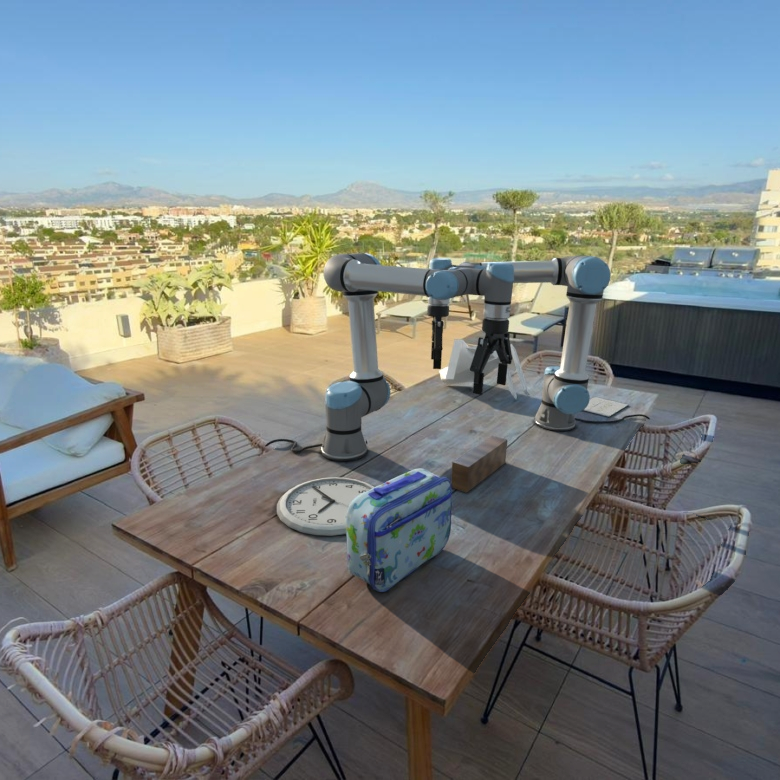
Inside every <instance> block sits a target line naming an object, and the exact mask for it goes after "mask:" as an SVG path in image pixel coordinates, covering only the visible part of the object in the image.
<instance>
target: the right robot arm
mask: <svg viewBox="0 0 780 780" xmlns="http://www.w3.org/2000/svg"><path fill="white" fill-rule="evenodd" d="M489 263H509V264H512V265H513V266H514V282H513V284H537V283H538V284H540V283H541V284H542V283H544V284H546V283H547V284H548V283H549V284H551V285H552V286H564V287H567V288H566V294H565V297H566V298H567V299H568V300H569V306H568V313H567V319H566V325H565V327H566V328H565V332H564V333H565V334H564V338H563V344H562V345H563V346H562V352H561V359H560V366H547V367H545V369H544V373H543V381H542V382H543V384H542V394H541V402H540V405H539V407H538V410H537V411H536V413H535V417H534V424H535V425H536V426H537V427H539V428H542V429H544V430H549V431H556V432H567V431H572V430H574V429H575V428H576V421H577V422H582V423H588V424H589V423H590V424H614V423H620V422H622V421H624V420H625V419H627V418H635V417H643V418H645V419H647V420H651V418H650V417H649V416H648V415H646V414H642V413H638V414H627V415H624V416H622V418H619V419H614V420H586V419H581V418H577V417H576V416H575V415H576V414H579V413H581V412H583V411H584V409H585V408H586V407H587V405H588V404H589V400H590V399H591V397H590V392H589V390H588V387H589V380H590V376H589V375H588V373H587V372H586V369H587V365H588V364H587V363H588V358H589V351H590V346H591V340H592V335H593V334H592V333H593V328H594V322H595V315H596V310H597V304H598V303H599V302H601V301H602V300H603V297H604V291H605V289H607V288H608V286H609V284H610V281H611V277H612V276H611V269H610V266H609V265H608V264H607V262H606V261H604V260H603V259H602V258H600V257H597V256H593V255H591V256H590V255H584V254H580V255H572V256H565V257H553V259H552V260H534V261H533V260H531V261H491V262H490V261H489V262H487V261H486V262H470V261H463V262H461V263H460V264H459V265H458V264H453V263H452V259H451V258H432V259H430V260H429V266H428V269H436V270H449V269H450V268H451V267H464V268H474V269H486V268H487V265H488V264H489ZM425 297H426V298H427V303H428V305H427V312H426V314H427V316H428V317H431V318H432V320H431V331H432V332H431V352H430V353H431V355H430V360H433V363H432V369H433V370H441V369H442V359H443V358H442V357H443V349H444V348H443V334H444V326H445V325H444V324H445V322H444V320H443V318H447V317H449V316H450V305H449V304H450V301H451V298H450V299H447V300H436V299H433V298H432V297H428V296H425Z"/></svg>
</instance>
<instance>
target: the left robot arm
mask: <svg viewBox="0 0 780 780" xmlns="http://www.w3.org/2000/svg"><path fill="white" fill-rule="evenodd" d="M323 279H324V281H325V283H326V285H327V286H328V287H329V288H330V289H331V290H333V291H336V292H342V297H343V298H344V299H345V300H346V301H347V307H348V317H349V329H350V342H351V344H350V345H351V355H352V367H353V370H352V372H351V373H350V375H349V380H345V381H344V380H343V381H338V382H335V383H333V384H331V385H329V386H328V387H327V389H326V391H325V398H324V402H325V424H326V425H325V426H326V428H325V429H326V431H325V435H324V437H323V439H322V440H323V441H322V443H317V444H311V445H307V446H304V447H302V448H300V449H295V448H296V447H297V446H298V442H297V441H296V440H293V439H288V438H277V439H272V440H271V441H268V442H266V443H265V445H264V447H268V446H270V445H271V444H274V443H279V442H287V443H291V444H293V445H292V446H291V449H290V451H291V452H292V453H294V454H298V453H302V452H304V451H305V450H308V449H314V448H319V447H320V448H321V449H320V450H321V451H320V452H321V455H322V457H324V458H325V459H327V460H331V461H335V462H353V461H356V460H359V459H361V458H364V457H365V456H366V455H367V453H368V446H367V444H368V441H367V439H365V438H364V434H363V431H362V418H364V417H365V416H367V415H371V414H372V413H373V412H378V411H379V410H381V409H382V408H383V407H385V406H386V405H387V404H388V402H389V400H390V398H391V387H390V384H389V382H387V379H386V378H385V377H384V373H383V372H382V371H381V370H380V369H379V360H378V346H377V345H378V343H377V329H376V328H377V327H376V314H375V301H374V300H375V298H376V297H377V295H378V294H379V293H378V292H382V293H393V294H400V295H409V296H410V295H412V296H421V297H426V296H428V297H427V298H429V297H432V298H433V299H436V300H447V299H450V300H451V299H453V298H458V297H462V296H479V297H484V299H483V311H482V317H483V318H482V324H481V331H482V332H483V333H484V334H485V335H484V337H482V336H479V337H478V338H477V339H478V340H477V345H476V346H477V348H476V351H475V354H474V357H473V360H472V364H471V367H470V371H472V372H474V382H473V384H472V394H475V395H477V396H478V395H479V396H483V390H484V378H485V377H484V373H482V372H483V370H484V367H485V365H486V363H487V361H488V359H489V357H490V355H491V354H492V353H493V352H494V351H495V350H496V352H497V355H498V357H499V359H500V362H502V363H499V364H498V367H497V375H496V376H497V377H496V384H497V385H500V386H506V385H507V380H506V376H507V367H508V368H509V365H512V361H513V359H512V352H511V346H510V344H511V341H510V337H511V333H510V332H509V330H510V329H509V327H510V320H509V319H510V317H511V316H510V315H511V311H512V308H511V306H512V297H513V289H514V288H513V287H514V283H513V282H514V266H513V265H512V264H509V263H489V264H488V265H487V268H486V269H474V268H464V267H451V268H450V269H449V270H436V269H429V268H421V267H409V266H396V265H383V264H382V263H381V262H380V261H379V259H378V258H377V257H375V256H374V255H372V254H371V253H368V252H367V253H366V252H365V253H364V252H355V253H354V252H353V253H339V254H336V255H332V256H331V257H329V258H328V260H327V261H326V263H325V265H324V267H323ZM507 355H508V356H507Z"/></svg>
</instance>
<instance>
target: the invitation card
mask: <svg viewBox="0 0 780 780" xmlns="http://www.w3.org/2000/svg"><path fill="white" fill-rule="evenodd" d="M628 406H629V404H627V403H623V402H618V401H614V400H609V399H605V398H601V397H596V396H593V397H592V398H590V400H589V404H588V405H587V407H586V408H585V409H584V410H583V411H584V412H587V413H593V414H596V415H600V416H604V417H608V418H609V417H611V416H613V415H614V414H616V413H617V412H619V411H621V410H623V409H624V408H626V407H628Z"/></svg>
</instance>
